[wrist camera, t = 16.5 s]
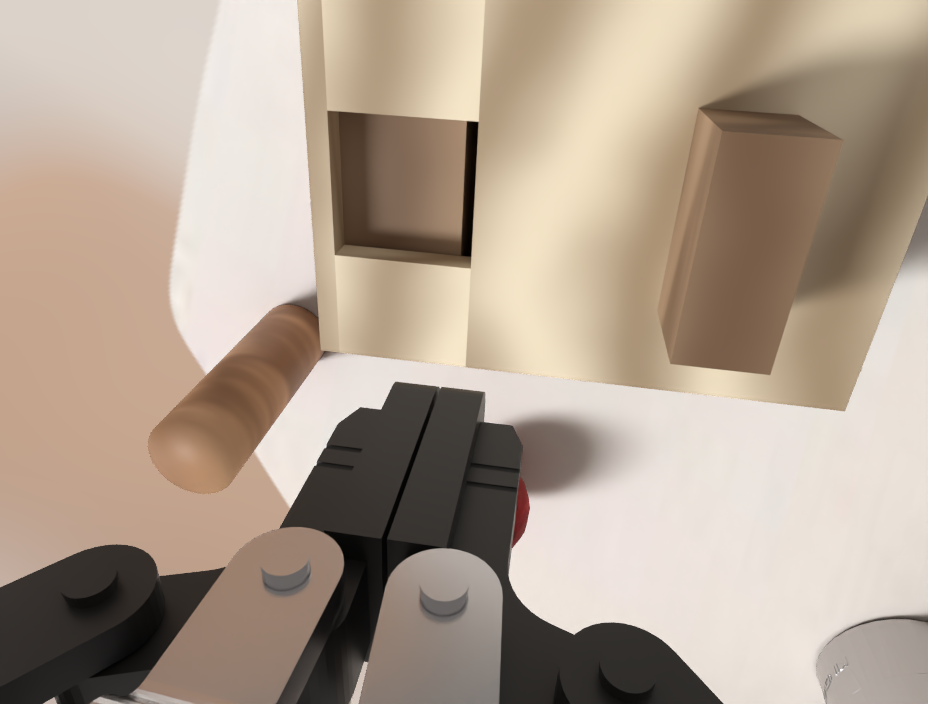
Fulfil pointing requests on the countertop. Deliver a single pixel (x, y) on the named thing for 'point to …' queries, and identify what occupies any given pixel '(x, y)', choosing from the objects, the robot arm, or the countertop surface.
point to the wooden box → (408, 182)
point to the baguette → (236, 402)
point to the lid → (634, 186)
